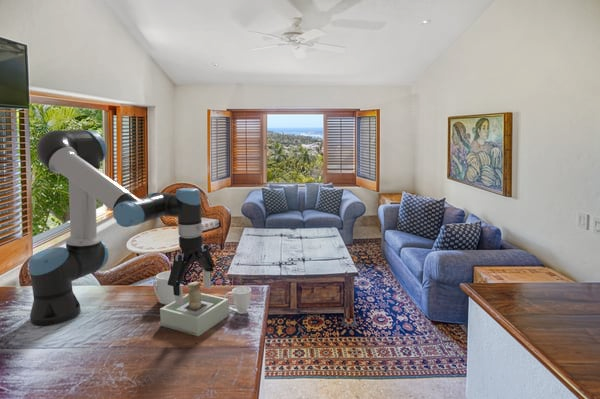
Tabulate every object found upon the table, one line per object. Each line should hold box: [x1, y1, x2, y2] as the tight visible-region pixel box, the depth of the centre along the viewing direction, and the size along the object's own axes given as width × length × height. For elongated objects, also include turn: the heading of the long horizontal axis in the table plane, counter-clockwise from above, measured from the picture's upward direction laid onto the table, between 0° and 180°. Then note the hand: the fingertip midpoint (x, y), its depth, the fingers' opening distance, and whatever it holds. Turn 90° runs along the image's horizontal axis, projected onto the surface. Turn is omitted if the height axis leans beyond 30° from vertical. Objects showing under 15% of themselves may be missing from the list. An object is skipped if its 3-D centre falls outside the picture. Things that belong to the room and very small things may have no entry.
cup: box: [223, 285, 252, 315], centre depth 141 cm, size 7×10×8 cm
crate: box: [159, 292, 230, 337], centre depth 135 cm, size 16×16×6 cm
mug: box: [152, 270, 182, 306], centre depth 149 cm, size 11×9×10 cm
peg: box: [187, 281, 202, 311], centre depth 134 cm, size 4×4×12 cm
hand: (193, 296), depth 134 cm, fingers open, 13 cm apart
